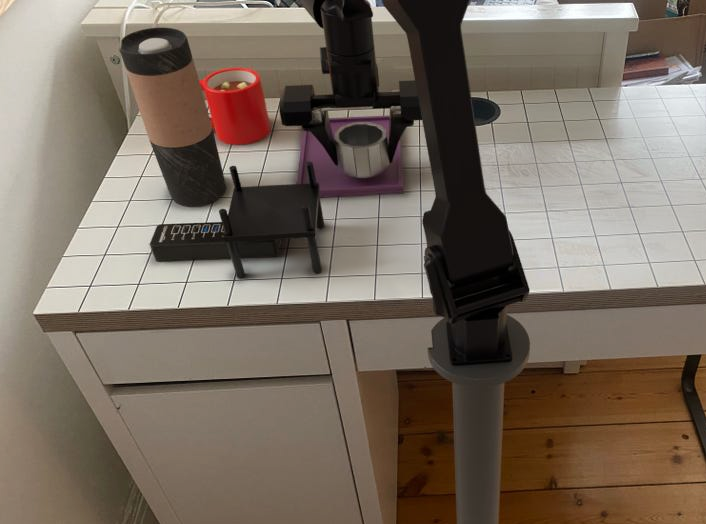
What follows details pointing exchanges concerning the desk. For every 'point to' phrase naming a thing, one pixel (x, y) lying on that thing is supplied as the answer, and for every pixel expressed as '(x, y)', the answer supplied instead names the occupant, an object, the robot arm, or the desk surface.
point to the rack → (273, 216)
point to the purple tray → (334, 178)
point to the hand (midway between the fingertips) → (364, 162)
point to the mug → (236, 105)
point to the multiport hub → (203, 243)
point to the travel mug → (174, 114)
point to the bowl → (362, 149)
